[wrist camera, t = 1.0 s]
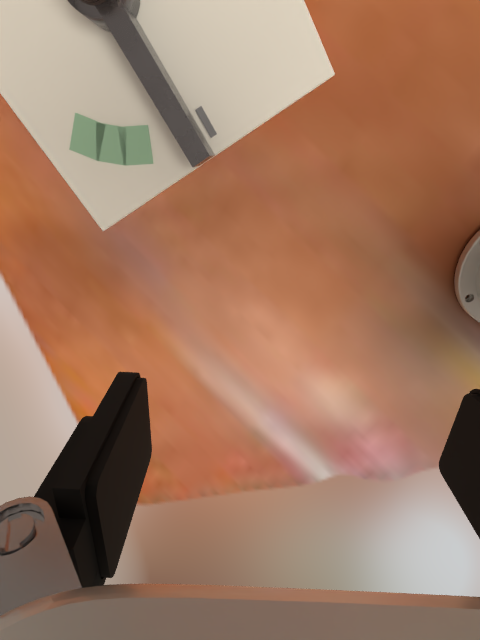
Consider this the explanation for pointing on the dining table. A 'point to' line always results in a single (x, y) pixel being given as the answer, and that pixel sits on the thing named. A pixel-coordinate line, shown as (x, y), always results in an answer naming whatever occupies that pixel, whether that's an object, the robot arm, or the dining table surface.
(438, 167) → the dining table surface
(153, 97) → the grey lever handle
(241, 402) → the dining table surface
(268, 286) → the dining table surface
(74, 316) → the dining table surface
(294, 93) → the dial plate
